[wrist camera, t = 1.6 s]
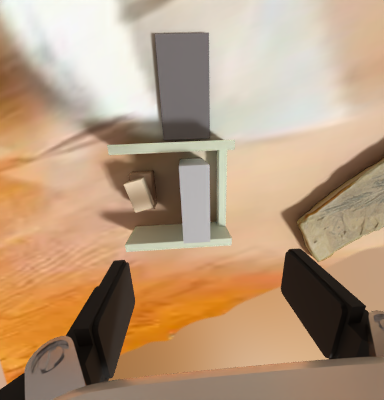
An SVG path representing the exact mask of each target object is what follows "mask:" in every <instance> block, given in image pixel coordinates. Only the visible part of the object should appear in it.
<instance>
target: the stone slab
mask: <svg viewBox="0 0 384 400" xmlns="http://www.w3.org/2000/svg"><path fill="white" fill-rule="evenodd" d="M297 224H298V227H299V229H300V231H301V233H302V235H303V239H304V243H305V246H306V247H307V249H308V251H309V252H310V253H311V255H312V256H313V257H314V258H315V259H316V260H317V261H318V262H320V261H323V260H325V259H327V258H329V257H330V256H332V255H333V253H334V252H335V251H337V250H339V249H341V248H342V247H344V246H346V245H347V244H349V243H351V242H353V241H355V240H357V239H359V238H361V237H362V236H363V235H367V234H370V233H371V232H373V231H377V230H380V229H381V228H383V227H384V158H383V159H381V160H380V161H379V162H378V163H376V164H374V165H373V166H371V167H369V168H367V169H365V170H364V171H362V172H360V173H359V174H358V175H357V176H355V177H353V178H352V179H350V180H348V181H347V182H345V183H344V184H343V185H341V186H340V187H339V188H337V189H336V190H334V191H333V192H331V193H330V194H329V195H328V196H327V197H325V198H324V199H322V200H321V201H320V202H319V203H317V204H316V205H315V206H314V207H313V208H312V209H311V210H310V211H309V212H307V213H306V214H305V215H303V216H302V217H301V218H300V219H299V220H298V221H297Z"/></svg>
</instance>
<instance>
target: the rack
mask: <svg viewBox="0 0 384 400" xmlns="http://www.w3.org/2000/svg"><path fill="white" fill-rule="evenodd" d="M107 147H108V152H109V155H123V154H145V153H168V152H190V151H213V150H217V222H210V242H200V243H184V241H183V225H182V224H169V225H152V226H135V228H134V230H133V232H132V234H131V235H130V237H129V239H128V241H127V242H126V244H125V247H126V252H132V251H148V250H164V249H179V248H195V247H211V246H226V245H232V238H231V236H230V234H229V232H228V230H227V228H226V181H227V150H235V140H214V141H190V142H166V143H143V144H119V145H107Z"/></svg>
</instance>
